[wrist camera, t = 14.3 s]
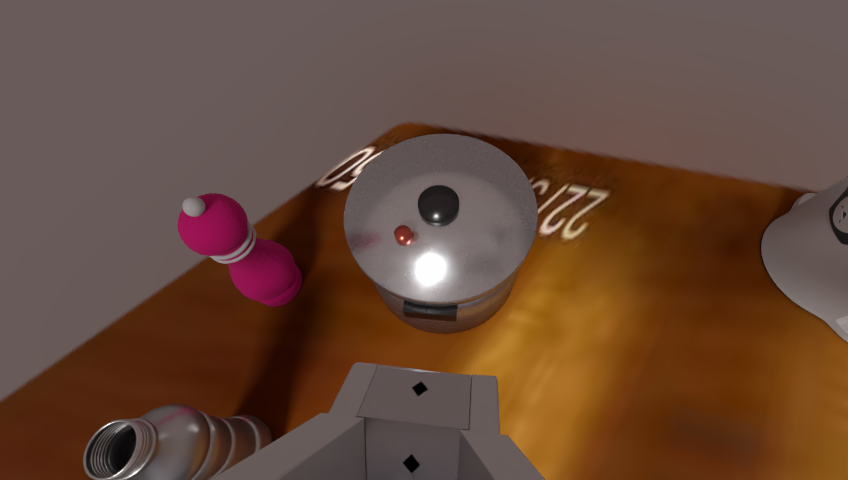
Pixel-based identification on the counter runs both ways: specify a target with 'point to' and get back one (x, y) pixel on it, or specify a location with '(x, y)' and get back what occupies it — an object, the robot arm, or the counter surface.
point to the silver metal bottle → (173, 445)
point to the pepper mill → (239, 249)
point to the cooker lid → (441, 219)
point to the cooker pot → (449, 311)
